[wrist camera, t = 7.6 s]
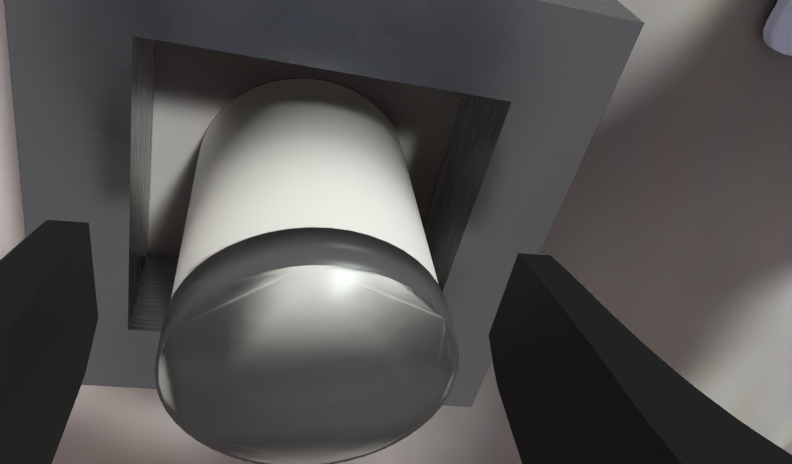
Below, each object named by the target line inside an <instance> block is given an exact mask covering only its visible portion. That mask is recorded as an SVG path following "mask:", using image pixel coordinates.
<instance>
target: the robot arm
mask: <svg viewBox="0 0 792 464" xmlns="http://www.w3.org/2000/svg"><path fill="white" fill-rule="evenodd" d="M763 39H764V41H765V43H766V44H767V45H768V46H769V47H771V48H772V49H774V50H775V51H777V52H779V53H781V54H785V55H790V56H792V0H778V2H777V3H776V5H775V7H774V9H773V11H772V12H771V14H770V16H769V18H768V20H767V21H766V24H765V27H764V29H763ZM97 321H98V310H97V300H96V290H95V280H94V270H93V259H92V249H91V239H90V229H89V223H86V222H72V221H58V220H46V221H45V222H44V223H42V224H41V225H40V226H39V227H38V228H36V229H35V230H34V231H33V232H32V233H31V234H29V235H28V236H27V237H26V238H25V239H24V240H23V241H22V242H20V243H19V244H18V245H17V246H16V247H15V248H14V249H12V250H11V251H10V252H9V253H8V254H7V255H6V256H5V257H3V258H2V259H1V260H0V464H51V463H52V461H53V458H54V456H55V453H56V450H57V448H58V445H59V442H60V440H61V437H62V435H63V432H64V429H65V427H66V424H67V421H68V419H69V416H70V413H71V411H72V408H73V405H74V403H75V400H76V397H77V395H78V392H79V389H80V387H81V384H82V381H83V378H84V376H85V373H86V368H87V364H88V360H89V356H90V352H91V348H92V343H93V339H94V335H95V330H96V326H97ZM489 341H490V347H491V353H492V360H493V365H494V370H495V376H496V381H497V386H498V389H499V392H500V396H501V399H502V402H503V405H504V408H505V412H506V415H507V418H508V421H509V424H510V427H511V430H512V433H513V436H514V439H515V443H516V446H517V449H518V452H519V455H520V458H521V461H522V464H792V455H791V454H789V453H788V452H786V451H785V450H783V449H782V448H780V447H778V446H777V445H775V444H774V443H772V442H771V441H769V440H768V439H766V438H765V437H763V436H761V435H760V434H758V433H757V432H755V431H754V430H752V429H751V428H750V427H748V426H747V425H745V424H744V423H742V422H741V421H739V420H738V419H737V418H735V417H734V416H732V415H731V414H730V413H728V412H727V411H726V410H724V409H723V408H722V407H720V406H719V405H718V404H716V403H715V402H714V401H712V400H711V399H710V398H708V397H707V396H706V395H704V394H703V393H702V392H700V391H699V390H698V389H696V388H695V387H694V386H693V385H691V384H690V383H689V382H688V381H686V380H685V379H684V378H683V377H682V376H680V375H679V374H678V373H677V372H676V371H674V370H673V369H672V368H671V367H670V366H669V365H667V364H666V363H665V362H664V361H663V360H662V359H660V358H659V357H658V356H657V355H656V354H655V353H653V352H652V351H651V350H650V349H649V348H648V347H647V346H646V345H644V344H643V343H642V342H641V341H640V340H639V339H638V338H637V337H636V336H635V335H633V334H632V333H631V332H630V331H629V330H628V329H627V328H626V327H625V326H624V325H623V324H622V323H621V322H620V321H619V320H617V319H616V318H615V317H614V316H613V315H612V314H611V313H610V312H609V311H608V310H607V309H606V308H605V307H604V306H603V305H602V304H601V303H600V302H599V301H598V300H597V299H596V298H595V297H594V296H593V295H592V294H591V293H590V292H588V291H587V290H586V289H585V288H584V287H583V286H582V285H581V284H580V283H579V282H578V281H577V280H576V279H575V278H574V277H573V276H572V275H571V274H570V273H569V272H568V271H567V270H566V269H565V268H564V267H562V266H561V265H560V264H559V263H558V262H557V261H556V260H555V259H553V258H552V257H551V256H550V255H537V254H523V253H518V255H517V258H516V260H515V263H514V266H513V269H512V271H511V274H510V277H509V280H508V282H507V285H506V288H505V291H504V294H503V296H502V299H501V302H500V305H499V307H498V310H497V313H496V316H495V318H494V321H493V324H492V327H491V329H490V332H489Z"/></svg>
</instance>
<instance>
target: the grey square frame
mask: <svg viewBox="0 0 792 464" xmlns="http://www.w3.org/2000/svg"><path fill="white" fill-rule="evenodd" d="M4 3H5V14H6V25H7V36H8V47H9V58H10V69H11V80H12V91H13V102H14V113H15V124H16V135H17V146H18V157H19V168H20V179H21V190H22V201H23V212H24V223H25V234H26V237H27V236H28V235H29V234H31V233H32V232H33V231H34V230H35V229H36V228H38V227H39V226H40V225H41V224H42V223H44V222H45V221H46V220H58V221H72V222H86V223H89V229H90V239H91V249H92V259H93V270H94V280H95V290H96V300H97V310H98V321H97V326H96V330H95V335H94V339H93V343H92V348H91V352H90V356H89V360H88V364H87V368H86V373H85V376H84V378H83V381H82V384H81V385H98V386H116V387H134V388H151V389H157V388H156V382H155V373H154V372H155V361H156V355H157V350H158V345H159V340H160V335H161V329H162V324H163V320H164V316H165V313H166V309H167V306H168V304H169V302H170V300H171V296H172V291H173V285H174V280H175V275H176V270H177V265H178V260H179V258H172V257H162V256H152V255H148V229H149V201H150V173H151V146H152V118H153V90H154V63H155V40H159V41H164V42H170V43H176V44H182V45H187V46H193V47H199V48H205V49H210V50H216V51H222V52H228V53H234V54H239V55H245V56H251V57H257V58H262V59H268V60H274V61H280V62H285V63H291V64H297V65H303V66H308V67H314V68H320V69H326V70H331V71H337V72H343V73H349V74H354V75H360V76H366V77H372V78H377V79H383V80H389V81H395V82H400V83H406V84H412V85H418V86H423V87H429V88H435V89H441V90H447V91H452V92H458V93H464V94H466V95H465V98H464V101H463V104H462V107H461V110H460V113H459V117H458V120H457V123H456V126H455V129H454V132H453V135H452V138H451V142H450V145H449V148H448V151H447V154H446V157H445V160H444V164H443V167H442V170H441V173H440V176H439V179H438V182H437V185H436V189H435V192H434V195H433V198H432V201H431V204H430V207H429V211H428V214H427V217H426V220H425V223H424V226H423V229H424V232H425V236H426V240H427V243H428V247H429V251H430V254H431V258H432V262H433V266H434V269H435V273H436V277H437V280H438V284H439V286H440V288H441V290H442V292H443V294H444V296H445V300H446V303H447V306H448V310H449V313H450V317H451V320H452V324H453V328H454V331H455V335H456V339H457V342H458V350H459V365H458V372H457V376H456V379H455V383H454V385H453V387H452V389H451V391H450V393H449V395H448V397H447V398H446V400H445V401H444V403H443V404H442V405H451V406H468V407H471V405H472V403H473V401H474V399H475V396H476V394H477V392H478V390H479V388H480V385H481V383H482V381H483V379H484V376H485V374H486V372H487V370H488V368H489V365H490V363H491V361H492V353H491V347H490V341H489V332H490V329H491V327H492V324H493V321H494V318H495V316H496V313H497V310H498V307H499V305H500V302H501V299H502V296H503V294H504V291H505V288H506V285H507V282H508V280H509V277H510V274H511V271H512V269H513V266H514V263H515V260H516V258H517V255H518V253H523V254H537V255H540V253H541V250H542V248H543V246H544V244H545V242H546V239H547V237H548V235H549V233H550V230H551V228H552V226H553V224H554V222H555V219H556V217H557V215H558V213H559V211H560V208H561V206H562V204H563V202H564V199H565V197H566V195H567V193H568V191H569V188H570V186H571V184H572V182H573V180H574V177H575V175H576V173H577V171H578V169H579V166H580V164H581V162H582V160H583V157H584V155H585V153H586V151H587V149H588V146H589V144H590V142H591V140H592V138H593V135H594V133H595V131H596V129H597V126H598V124H599V122H600V120H601V118H602V115H603V113H604V111H605V109H606V107H607V104H608V102H609V100H610V98H611V96H612V93H613V91H614V89H615V87H616V84H617V82H618V80H619V78H620V76H621V73H622V71H623V69H624V67H625V65H626V62H627V60H628V58H629V56H630V53H631V51H632V49H633V47H634V45H635V42H636V40H637V38H638V36H639V34H640V31H641V29H642V27H643V25H644V23H643V22H642V21H641V20H640V19H639V18H637V17H636V16H635V15H634V14H633V13H632V12H630V11H629V10H628V9H627V8H626V7H624V6H623V5H622V4H621V3H620V2H618V1H617V0H4Z"/></svg>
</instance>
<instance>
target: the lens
mask: <svg viewBox="0 0 792 464" xmlns="http://www.w3.org/2000/svg"><path fill="white" fill-rule="evenodd" d="M458 365H459V350H458V342H457V339H456V335H455V331H454V328H453V324H452V320H451V317H450V313H449V310H448V306H447V303H446V300H445V296H444V294H443V292H442V290H441V288H440V286H439V284H438V280H437V277H436V273H435V269H434V266H433V262H432V258H431V254H430V251H429V247H428V243H427V240H426V236H425V232H424V229H423V225H422V221H421V217H420V214H419V210H418V206H417V203H416V199H415V195H414V191H413V188H412V184H411V180H410V177H409V173H408V169H407V166H406V162H405V158H404V154H403V151H402V147H401V144H400V141H399V138H398V136H397V134H396V131H395V129H394V127H393V126H392V124H391V123H390V121H389V120H388V119H387V117H386V116H385V115H384V114H383V113H382V112H381V111H380V109H379V108H378V107H376V106H375V105H374V104H373V103H372V102H370V101H369V100H368V99H366V98H365V97H363V96H362V95H360V94H358V93H357V92H355V91H353V90H350V89H348V88H346V87H344V86H341V85H338V84H335V83H332V82H327V81H322V80H317V79H302V78H301V79H286V80H280V81H274V82H270V83H267V84H264V85H261V86H258V87H256V88H253V89H251V90H249V91H247V92H245V93H243V94H242V95H240V96H239V97H237V98H235V99H234V100H233V101H231V102H230V103H229V104H228V105H227V106H225V107H224V108H223V109H222V110H221V111H220V113H219V114H218V115H217V116H216V117H215V118H214V120H213V121H212V123H211V124H210V126H209V127H208V129H207V131H206V133H205V136H204V138H203V140H202V144H201V147H200V151H199V156H198V161H197V166H196V172H195V177H194V182H193V187H192V192H191V197H190V203H189V208H188V213H187V218H186V223H185V229H184V234H183V239H182V244H181V249H180V254H179V260H178V265H177V270H176V275H175V280H174V285H173V291H172V296H171V300H170V302H169V304H168V306H167V309H166V313H165V316H164V320H163V324H162V329H161V335H160V340H159V345H158V350H157V355H156V361H155V372H154V373H155V382H156V388H157V391H158V394H159V397H160V400H161V402H162V404H163V405H164V407H165V409H166V411H167V412H168V414H169V415H170V416H171V417H172V419H173V420H174V421H175V423H176V424H178V425H179V426H180V427H181V428H182V429H183V430H184V431H185V432H186V433H187V434H189V435H190V436H192V437H193V438H194V439H196V440H197V441H199V442H200V443H202V444H204V445H206V446H208V447H209V448H211V449H213V450H216V451H218V452H220V453H223V454H225V455H228V456H231V457H234V458H237V459H241V460H244V461H249V462H253V463H258V464H334V463H340V462H345V461H349V460H353V459H356V458H360V457H364V456H367V455H369V454H372V453H375V452H378V451H380V450H382V449H384V448H387V447H389V446H391V445H393V444H395V443H397V442H399V441H400V440H402V439H404V438H405V437H407V436H409V435H410V434H412V433H413V432H414V431H416V430H417V429H419V428H420V427H421V426H422V425H423V424H425V423H426V422H427V421H428V420H429V419H430V418H431V417H432V416H433V415H434V414H435V413H436V412H437V411H438V409H439V408H440V407H441V406H442V404H443V403H444V401H445V400H446V398H447V397H448V395H449V393H450V391H451V389H452V387H453V385H454V383H455V379H456V376H457V372H458Z"/></svg>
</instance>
